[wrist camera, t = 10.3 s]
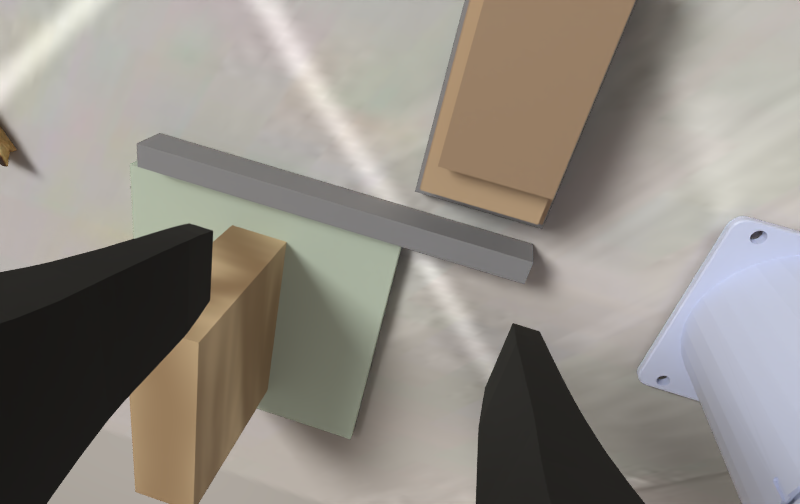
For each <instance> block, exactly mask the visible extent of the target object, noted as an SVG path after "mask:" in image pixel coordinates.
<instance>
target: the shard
mask: <svg viewBox="0 0 800 504" xmlns="http://www.w3.org/2000/svg"><path fill="white" fill-rule="evenodd" d="M16 150H17V149H16V148H15V146H14V145H13V143H12V142H11V141H10V140H9V138H8V137H7V135H6V134H5V132H4V131H3V129H2V128H1V127H0V164H1V165H2V166H8V158H9V154H10V152H13V151H16Z"/></svg>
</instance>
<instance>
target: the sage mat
mask: <svg viewBox="0 0 800 504" xmlns="http://www.w3.org/2000/svg"><path fill="white" fill-rule="evenodd" d="M130 177H131V198H132V220H133V239H135V238H138V237H141V236H145V235H148V234H151V233H155V232H158V231H161V230H165V229H168V228H172V227H175V226H179V225H183V224H188V223H190V224H193V225H197V226H200V227H203V228H206V229H210V230H213V241H214V240H216V239H217V238H218V237H219V236H220V235H221V234H223V233H224V232H225V231H226V230H227V229H228V228H229V227H231V226H232V225H233V226H237V227H240V228H243V229H246V230H250V231H253V232H256V233H259V234H263V235H266V236H269V237H272V238H276V239H279V240H282V241H285V242H287V244H286V251H285V259H284V267H283V275H282V282H281V290H280V298H279V306H278V314H277V321H276V329H275V337H274V345H273V352H272V360H271V368H270V376H269V383H268V390H267V392H266V394H265V395H264V397H263V398H262V400H261V402H260V403H259V405H258V407H257V409H260V410H263V411H266V412H269V413H272V414H275V415H278V416H281V417H284V418H287V419H290V420H293V421H296V422H299V423H302V424H305V425H308V426H311V427H314V428H317V429H320V430H323V431H326V432H329V433H332V434H335V435H338V436H341V437H344V438H347V439H350V440H351V437H352V434H353V431H354V428H355V424H356V420H357V416H358V413H359V409H360V405H361V401H362V397H363V393H364V390H365V386H366V382H367V378H368V374H369V371H370V367H371V363H372V359H373V355H374V351H375V348H376V344H377V340H378V336H379V332H380V329H381V325H382V321H383V317H384V313H385V309H386V306H387V302H388V298H389V294H390V290H391V287H392V283H393V279H394V275H395V271H396V267H397V264H398V260H399V256H400V252H401V248H402V247H400V246H397V245H393V244H390V243H387V242H384V241H380V240H377V239H374V238H370V237H367V236H364V235H360V234H357V233H354V232H351V231H347V230H344V229H341V228H337V227H334V226H331V225H328V224H324V223H321V222H318V221H314V220H311V219H308V218H304V217H301V216H298V215H295V214H291V213H288V212H285V211H281V210H278V209H275V208H272V207H268V206H265V205H262V204H258V203H255V202H252V201H248V200H245V199H242V198H239V197H235V196H232V195H229V194H225V193H222V192H219V191H215V190H212V189H209V188H206V187H202V186H199V185H196V184H192V183H189V182H186V181H183V180H179V179H176V178H173V177H169V176H166V175H163V174H159V173H156V172H153V171H150V170H146V169H143V168H140V167H138V163H137V161H136V162H133V163H131V164H130Z"/></svg>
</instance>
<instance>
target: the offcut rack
mask: <svg viewBox="0 0 800 504" xmlns="http://www.w3.org/2000/svg"><path fill="white" fill-rule="evenodd" d="M636 2H637V0H465V2H464V6H463V10H462V13H461V17H460V21H459V25H458V29H457V33H456V36H455V40H454V44H453V48H452V52H451V56H450V59H449V63H448V67H447V71H446V75H445V79H444V83H443V86H442V90H441V94H440V98H439V102H438V106H437V109H436V113H435V117H434V121H433V125H432V129H431V132H430V136H429V140H428V144H427V148H426V152H425V155H424V159H423V163H422V167H421V171H420V175H419V178H418V182H417V186H416V190H415V192H419V193H422V194H425V195H429V196H432V197H436V198H439V199H442V200H446V201H449V202H452V203H456V204H459V205H463V206H466V207H469V208H473V209H476V210H480V211H483V212H486V213H490V214H493V215H496V216H500V217H503V218H507V219H510V220H513V221H517V222H520V223H524V224H527V225H530V226H534V227H537V228H541V229H542V228H543V226H544V223H545V221H546V219H547V216H548V214H549V211H550V209H551V207H552V204H553V202H554V199H555V197H556V195H557V192H558V190H559V187H560V185H561V183H562V180H563V178H564V175H565V173H566V170H567V168H568V166H569V163H570V161H571V158H572V156H573V154H574V151H575V149H576V146H577V144H578V142H579V139H580V137H581V134H582V132H583V129H584V127H585V125H586V122H587V120H588V117H589V115H590V113H591V110H592V108H593V105H594V103H595V101H596V98H597V96H598V93H599V91H600V88H601V86H602V84H603V81H604V79H605V76H606V74H607V72H608V69H609V67H610V64H611V62H612V60H613V57H614V55H615V52H616V50H617V48H618V45H619V43H620V40H621V38H622V35H623V33H624V31H625V28H626V26H627V23H628V21H629V19H630V16H631V14H632V11H633V9H634V7H635V4H636ZM137 163H138V167H140V168H143V169H146V170H150V171H153V172H156V173H159V174H163V175H166V176H169V177H173V178H176V179H179V180H183V181H186V182H189V183H192V184H196V185H199V186H202V187H206V188H209V189H212V190H215V191H219V192H222V193H225V194H229V195H232V196H235V197H239V198H242V199H245V200H248V201H252V202H255V203H258V204H262V205H265V206H268V207H272V208H275V209H278V210H281V211H285V212H288V213H291V214H295V215H298V216H301V217H304V218H308V219H311V220H314V221H318V222H321V223H324V224H328V225H331V226H334V227H337V228H341V229H344V230H347V231H351V232H354V233H357V234H360V235H364V236H367V237H370V238H374V239H377V240H380V241H384V242H387V243H390V244H393V245H397V246H400V247H403V248H407V249H410V250H413V251H417V252H420V253H423V254H426V255H430V256H433V257H436V258H440V259H443V260H446V261H449V262H453V263H456V264H459V265H463V266H466V267H469V268H473V269H476V270H479V271H482V272H486V273H489V274H492V275H496V276H499V277H502V278H505V279H509V280H512V281H515V282H519V283H522V284H525V281H526V279H527V277H528V274H529V272H530V269H531V267H532V265H533V244H530V243H527V242H524V241H520V240H517V239H513V238H510V237H507V236H503V235H500V234H497V233H493V232H490V231H487V230H483V229H480V228H477V227H473V226H470V225H466V224H463V223H460V222H456V221H453V220H450V219H446V218H443V217H440V216H436V215H433V214H429V213H426V212H423V211H419V210H416V209H413V208H409V207H406V206H403V205H399V204H396V203H393V202H389V201H386V200H382V199H379V198H376V197H372V196H369V195H366V194H362V193H359V192H356V191H352V190H349V189H346V188H342V187H339V186H335V185H332V184H329V183H325V182H322V181H319V180H315V179H312V178H309V177H305V176H302V175H298V174H295V173H292V172H288V171H285V170H282V169H278V168H275V167H272V166H268V165H265V164H262V163H258V162H255V161H251V160H248V159H245V158H241V157H238V156H235V155H231V154H228V153H225V152H221V151H218V150H215V149H211V148H208V147H204V146H201V145H198V144H194V143H191V142H188V141H184V140H181V139H178V138H174V137H171V136H167V135H164V134H161V133H159V134H157V135H155V136H152V137H150V138H148V139H146V140H143V141H141V142H139V143H137Z"/></svg>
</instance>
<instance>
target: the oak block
mask: <svg viewBox="0 0 800 504" xmlns="http://www.w3.org/2000/svg"><path fill="white" fill-rule="evenodd" d="M286 244H287V242H285V241H282V240H279V239H276V238H272V237H269V236H266V235H263V234H259V233H256V232H253V231H250V230H246V229H243V228H240V227H237V226H233V225H232V226H231V227H229V228H228V229H227V230H226V231H225V232H224V233H223V234H221V235H220V236H219V237H218V238H217V239H216V240H214V241H213V250H212V273H211V295H210V302H209V303H208V305H207V306H206V307H205V309H204V310H203V312H202V313H201V315H200V316H199V318H198V319H197V321H196V322H195V323H194V325H193V326H192V328H191V329H190V330H189V332H188V333H187V334H186V335H185V337H184V338H183V339H182V340H181V341H180V342H179V343H178V344H177V345H176V346H175V347H174V349H173V350H172V351H171V352H170V353H169V354H168V355H167V356H166V357H165V358H164V359H163V360H162V362H161V363H160V364H159V365H158V366H157V367H156V368H155V369H154V370H153V371H152V372H151V373H150V374H149V375H148V376H147V378H146V379H145V380H144V381H143V382H142V383H141V384H140V385H139V386H138V387H137V388H136V389H135V390H134V391H133V392H132V393H131V395H130V411H131V427H132V443H133V458H134V475H135V489H136V490H135V491H136V492H137V493H140V494H143V495H146V496H149V497H152V498H155V499H157V500H160V501H164V502H166V503H169V504H199V502H200V500H201V499H202V497H203V495H204V494H205V492H206V490H207V489H208V487H209V485H210V484H211V482H212V481H213V479H214V477H215V475H216V474H217V472H218V471H219V469H220V467H221V466H222V464H223V462H224V461H225V459H226V458H227V456H228V454H229V453H230V451H231V449H232V448H233V446H234V444H235V443H236V441H237V440H238V438H239V436H240V435H241V433H242V431H243V430H244V428H245V426H246V425H247V423H248V421H249V420H250V418H251V417H252V415H253V413H254V412H255V410H256V408H257V407H258V405H259V403H260V402H261V400H262V398H263V397H264V395H265V394H266V392H267V390H268V383H269V376H270V368H271V360H272V352H273V345H274V337H275V329H276V321H277V314H278V306H279V298H280V290H281V282H282V275H283V267H284V259H285V251H286Z"/></svg>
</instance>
